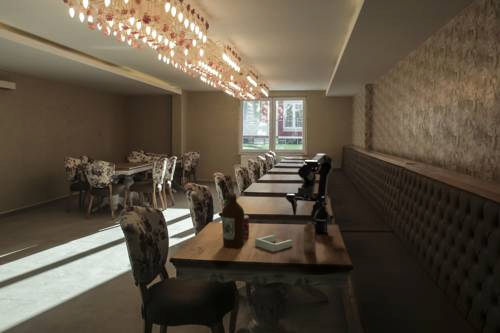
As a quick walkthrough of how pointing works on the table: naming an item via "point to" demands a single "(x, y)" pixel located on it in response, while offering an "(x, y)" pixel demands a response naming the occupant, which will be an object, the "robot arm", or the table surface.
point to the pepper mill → (309, 238)
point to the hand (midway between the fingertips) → (303, 217)
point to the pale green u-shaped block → (267, 244)
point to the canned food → (246, 227)
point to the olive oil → (233, 223)
